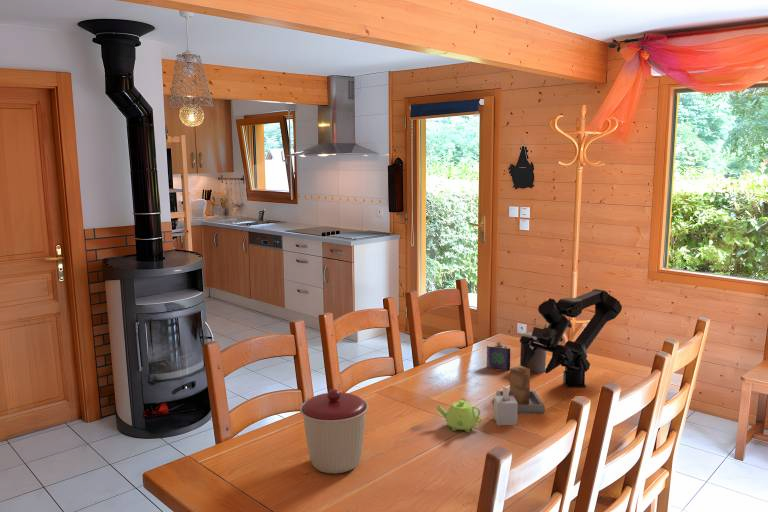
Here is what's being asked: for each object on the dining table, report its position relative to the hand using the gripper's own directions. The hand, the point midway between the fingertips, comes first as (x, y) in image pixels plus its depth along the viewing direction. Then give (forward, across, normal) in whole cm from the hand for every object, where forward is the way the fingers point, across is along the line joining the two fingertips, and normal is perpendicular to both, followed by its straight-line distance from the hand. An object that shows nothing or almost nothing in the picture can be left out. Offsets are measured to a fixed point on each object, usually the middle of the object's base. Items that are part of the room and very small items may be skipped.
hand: (534, 369), depth 205 cm
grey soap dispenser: (+22, +5, -7) cm, 23 cm away
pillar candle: (-9, -19, +25) cm, 33 cm away
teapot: (+32, -1, -17) cm, 36 cm away
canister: (+61, -6, -47) cm, 77 cm away
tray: (+13, 0, +2) cm, 13 cm away
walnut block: (+12, 0, +2) cm, 13 cm away
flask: (-2, -29, +19) cm, 34 cm away
